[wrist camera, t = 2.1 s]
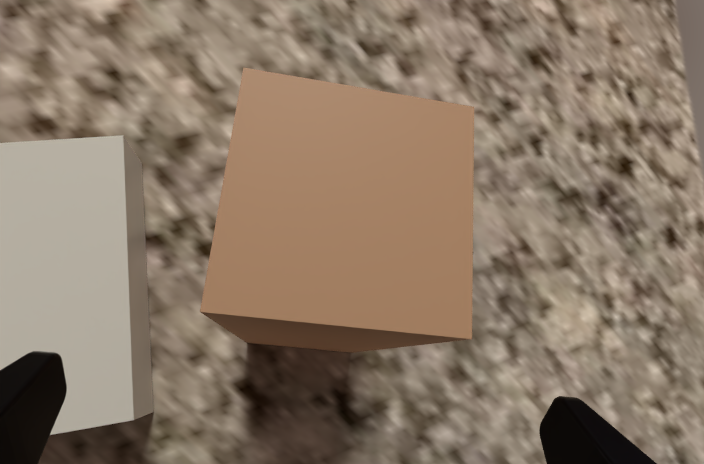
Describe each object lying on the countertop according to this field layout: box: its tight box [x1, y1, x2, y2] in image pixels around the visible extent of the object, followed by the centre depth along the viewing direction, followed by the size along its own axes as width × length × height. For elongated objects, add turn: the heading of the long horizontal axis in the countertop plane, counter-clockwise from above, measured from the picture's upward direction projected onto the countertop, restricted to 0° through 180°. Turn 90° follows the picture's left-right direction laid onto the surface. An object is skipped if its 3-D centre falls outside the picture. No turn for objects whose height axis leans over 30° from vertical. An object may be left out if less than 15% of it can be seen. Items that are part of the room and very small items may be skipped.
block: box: [200, 68, 474, 353], centre depth 13 cm, size 4×4×12 cm
